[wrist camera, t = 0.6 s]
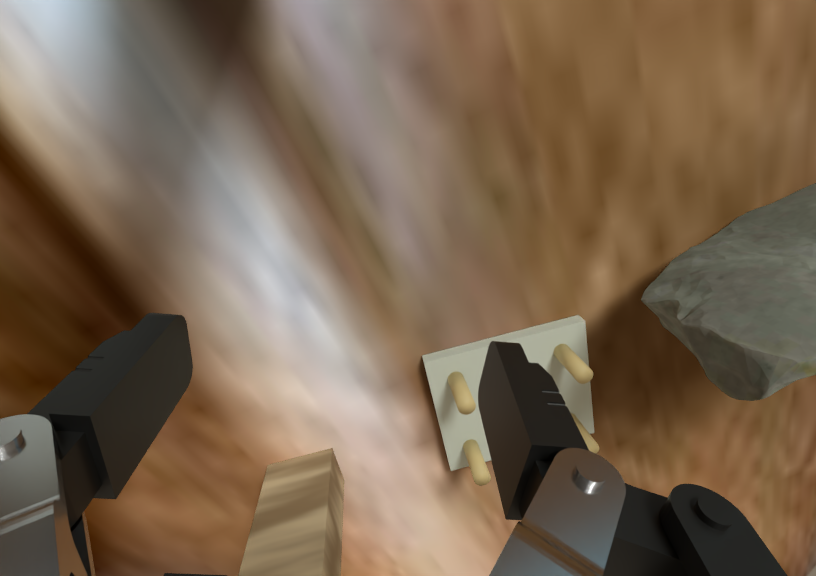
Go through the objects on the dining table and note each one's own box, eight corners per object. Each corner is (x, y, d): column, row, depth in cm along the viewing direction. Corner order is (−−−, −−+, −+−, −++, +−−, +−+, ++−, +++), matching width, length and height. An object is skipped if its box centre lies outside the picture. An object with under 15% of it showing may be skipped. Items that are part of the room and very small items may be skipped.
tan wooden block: (267, 465, 39) (222, 634, 26) (332, 448, 39) (319, 608, 26) (282, 497, 40) (246, 673, 27) (344, 480, 40) (337, 648, 27)
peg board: (421, 355, 37) (431, 390, 32) (578, 315, 37) (611, 342, 32) (448, 461, 41) (460, 506, 36) (587, 424, 41) (618, 463, 36)
